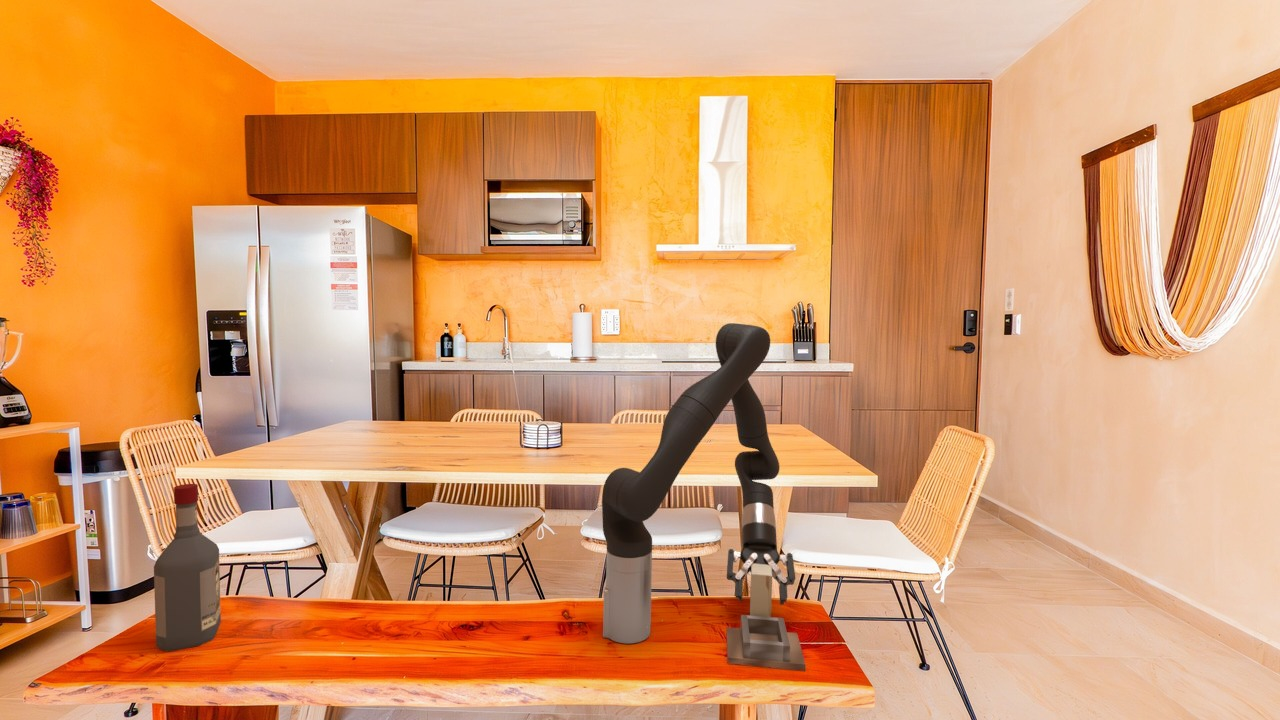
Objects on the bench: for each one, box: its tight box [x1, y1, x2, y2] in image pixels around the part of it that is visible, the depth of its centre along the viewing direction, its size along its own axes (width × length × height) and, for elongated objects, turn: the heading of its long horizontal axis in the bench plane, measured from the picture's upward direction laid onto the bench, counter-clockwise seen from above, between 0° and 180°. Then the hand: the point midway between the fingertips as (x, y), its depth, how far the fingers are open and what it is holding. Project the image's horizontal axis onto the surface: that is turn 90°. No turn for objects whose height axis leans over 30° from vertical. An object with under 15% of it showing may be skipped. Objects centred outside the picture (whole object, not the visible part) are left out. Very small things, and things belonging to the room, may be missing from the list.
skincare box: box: [749, 563, 773, 617], centre depth 121 cm, size 6×4×12 cm
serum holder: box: [726, 614, 806, 672], centre depth 112 cm, size 14×11×4 cm
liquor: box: [153, 483, 222, 652], centre depth 112 cm, size 9×9×30 cm
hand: (761, 601), depth 120 cm, fingers open, 8 cm apart
